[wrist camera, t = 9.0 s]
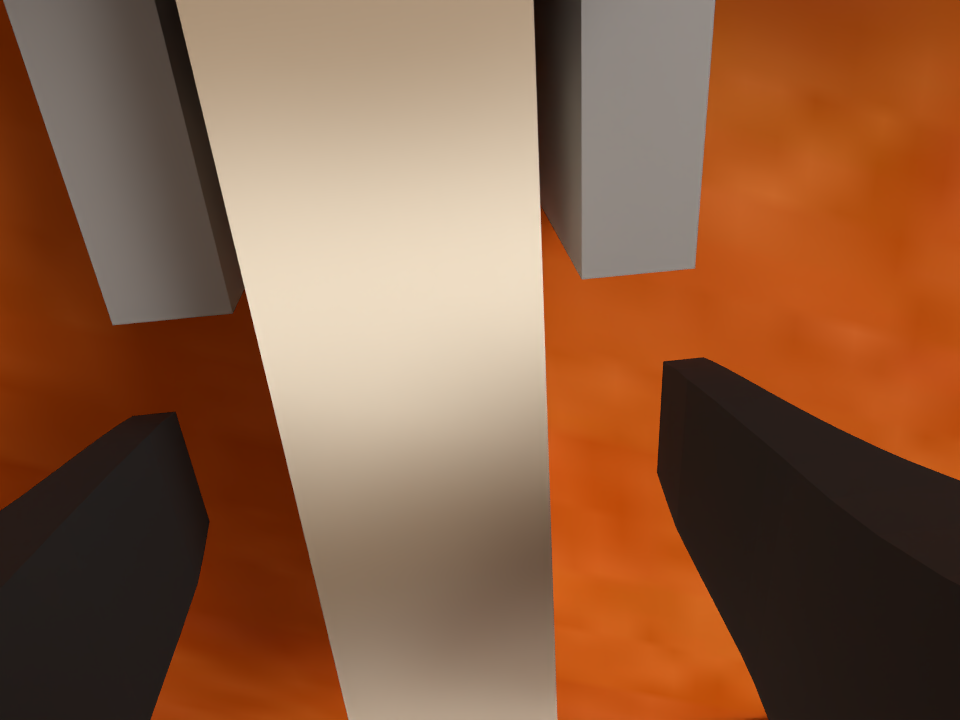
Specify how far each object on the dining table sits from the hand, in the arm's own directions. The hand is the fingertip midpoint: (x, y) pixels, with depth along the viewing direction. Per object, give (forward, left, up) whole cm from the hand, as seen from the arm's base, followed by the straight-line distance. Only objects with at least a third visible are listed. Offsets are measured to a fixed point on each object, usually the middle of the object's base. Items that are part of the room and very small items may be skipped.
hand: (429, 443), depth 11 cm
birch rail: (0, 0, -4) cm, 4 cm away
